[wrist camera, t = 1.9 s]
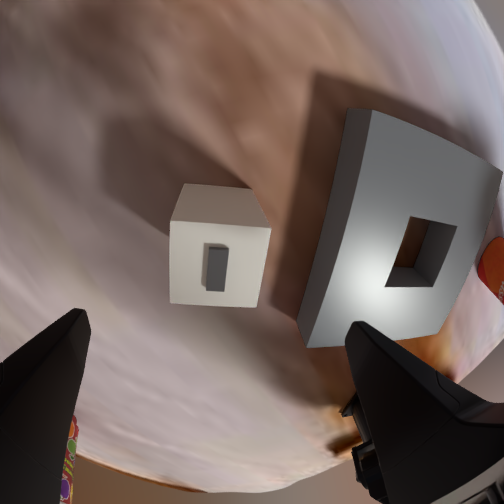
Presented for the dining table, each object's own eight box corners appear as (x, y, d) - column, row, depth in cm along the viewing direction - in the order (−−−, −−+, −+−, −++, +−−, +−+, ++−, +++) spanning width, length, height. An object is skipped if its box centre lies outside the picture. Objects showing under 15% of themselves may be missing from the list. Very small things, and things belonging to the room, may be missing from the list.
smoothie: (97, 423, 27) (83, 555, 10) (68, 429, 28) (51, 540, 11) (46, 388, 23) (13, 530, 6) (24, 398, 25) (-6, 515, 7)
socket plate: (421, 315, 24) (437, 333, 22) (296, 321, 22) (306, 347, 19) (478, 162, 17) (503, 172, 15) (347, 108, 15) (372, 109, 12)
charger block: (242, 249, 18) (257, 311, 13) (180, 244, 18) (169, 306, 12) (251, 189, 17) (272, 231, 11) (184, 183, 16) (169, 223, 10)
